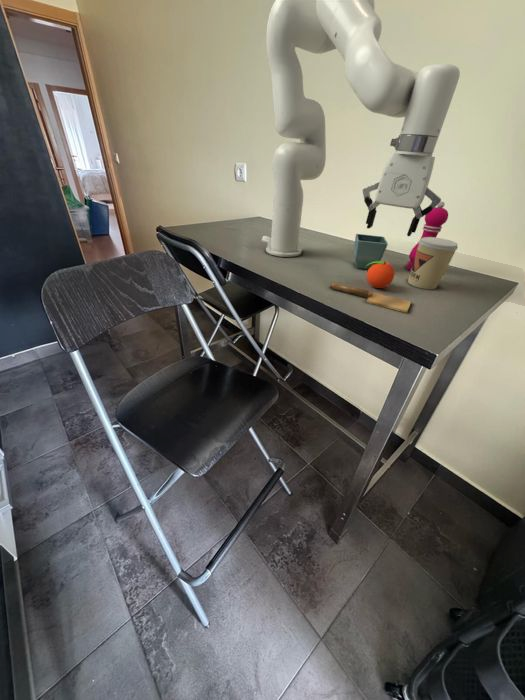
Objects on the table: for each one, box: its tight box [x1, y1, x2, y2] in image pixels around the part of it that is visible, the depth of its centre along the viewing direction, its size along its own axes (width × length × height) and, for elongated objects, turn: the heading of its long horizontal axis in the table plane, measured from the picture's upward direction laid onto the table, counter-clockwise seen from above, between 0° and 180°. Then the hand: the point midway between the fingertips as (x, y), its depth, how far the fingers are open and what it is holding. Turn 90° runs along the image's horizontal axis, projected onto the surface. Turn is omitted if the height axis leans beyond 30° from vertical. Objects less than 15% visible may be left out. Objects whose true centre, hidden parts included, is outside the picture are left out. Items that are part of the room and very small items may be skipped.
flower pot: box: [353, 233, 389, 270], centre depth 90 cm, size 9×9×9 cm
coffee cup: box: [407, 237, 459, 290], centre depth 79 cm, size 9×9×12 cm
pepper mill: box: [406, 200, 449, 272], centre depth 87 cm, size 7×7×20 cm
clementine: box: [366, 260, 396, 289], centre depth 77 cm, size 8×7×7 cm
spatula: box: [329, 281, 412, 314], centre depth 72 cm, size 20×6×2 cm, turn 59°
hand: (388, 231), depth 71 cm, fingers open, 9 cm apart
